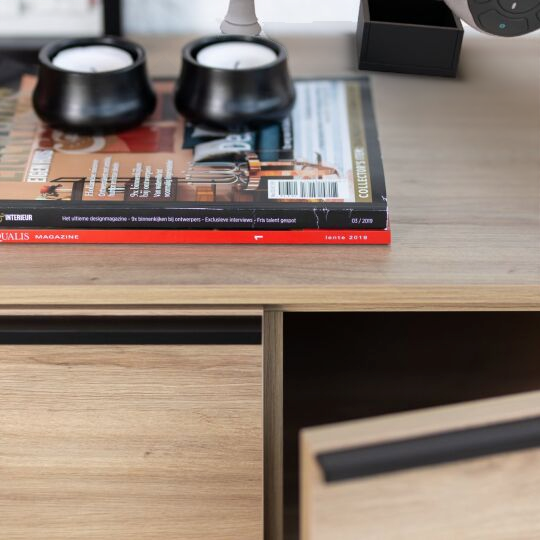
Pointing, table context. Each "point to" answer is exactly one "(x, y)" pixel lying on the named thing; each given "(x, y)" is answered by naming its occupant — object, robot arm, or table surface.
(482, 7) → the robot arm
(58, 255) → the table surface
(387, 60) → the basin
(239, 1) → the rook chess piece
